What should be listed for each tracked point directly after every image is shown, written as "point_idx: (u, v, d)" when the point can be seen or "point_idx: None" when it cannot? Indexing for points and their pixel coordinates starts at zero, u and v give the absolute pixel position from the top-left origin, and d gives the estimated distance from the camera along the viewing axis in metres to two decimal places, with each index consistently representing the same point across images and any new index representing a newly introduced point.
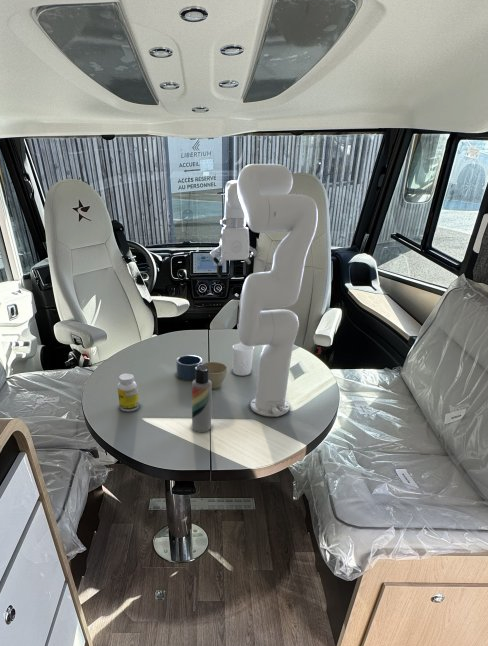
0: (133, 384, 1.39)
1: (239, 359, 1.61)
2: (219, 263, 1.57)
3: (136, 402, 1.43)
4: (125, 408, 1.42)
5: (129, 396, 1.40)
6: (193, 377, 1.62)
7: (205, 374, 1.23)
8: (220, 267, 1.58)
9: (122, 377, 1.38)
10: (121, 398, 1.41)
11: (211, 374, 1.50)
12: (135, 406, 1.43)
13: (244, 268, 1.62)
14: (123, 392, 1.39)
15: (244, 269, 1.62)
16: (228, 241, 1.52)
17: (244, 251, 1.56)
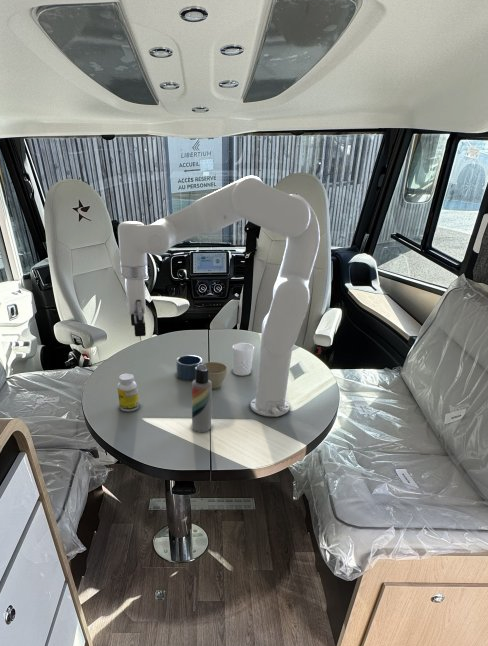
0: (133, 384, 1.39)
1: (239, 359, 1.61)
2: None
3: (136, 402, 1.43)
4: (125, 408, 1.42)
5: (129, 396, 1.40)
6: (193, 377, 1.62)
7: (205, 374, 1.23)
8: None
9: (122, 377, 1.38)
10: (121, 398, 1.41)
11: (211, 374, 1.50)
12: (135, 406, 1.43)
13: None
14: (123, 392, 1.39)
15: None
16: (125, 287, 1.31)
17: (128, 305, 1.28)
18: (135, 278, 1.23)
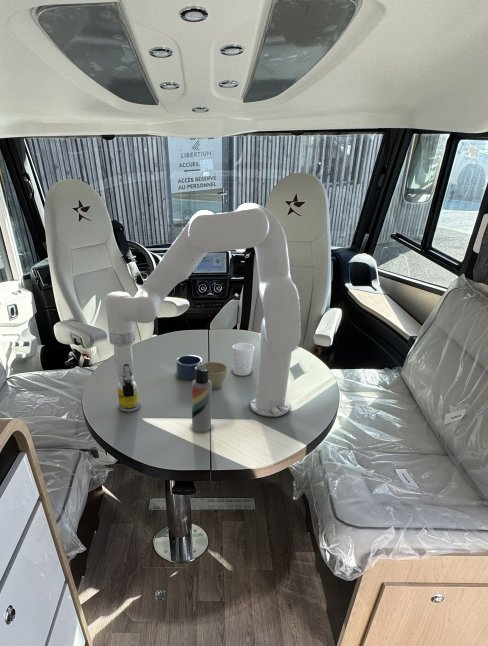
0: (133, 384, 1.39)
1: (239, 359, 1.61)
2: None
3: (136, 402, 1.43)
4: (125, 408, 1.42)
5: None
6: (193, 377, 1.62)
7: (205, 374, 1.23)
8: None
9: None
10: (121, 398, 1.41)
11: (211, 374, 1.50)
12: (135, 406, 1.43)
13: None
14: None
15: None
16: None
17: (116, 368, 1.33)
18: (123, 344, 1.29)
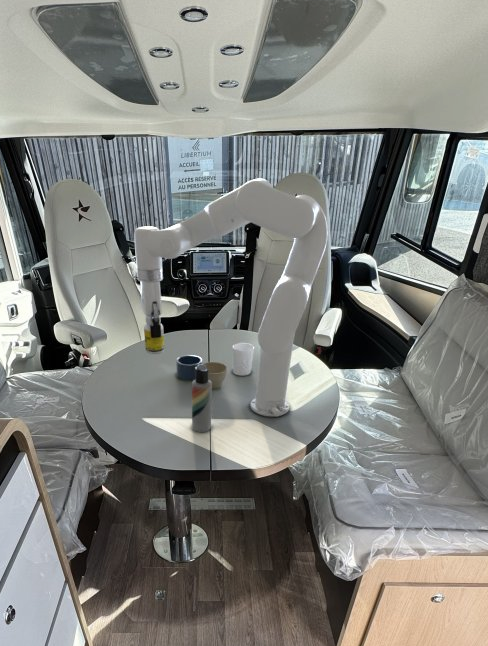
0: None
1: (239, 359, 1.61)
2: None
3: (162, 344, 1.42)
4: (152, 350, 1.42)
5: (156, 338, 1.39)
6: (193, 377, 1.62)
7: (205, 374, 1.23)
8: None
9: (149, 318, 1.38)
10: (148, 340, 1.40)
11: (211, 374, 1.50)
12: (161, 349, 1.43)
13: None
14: (150, 333, 1.38)
15: None
16: None
17: (144, 307, 1.33)
18: (151, 281, 1.29)
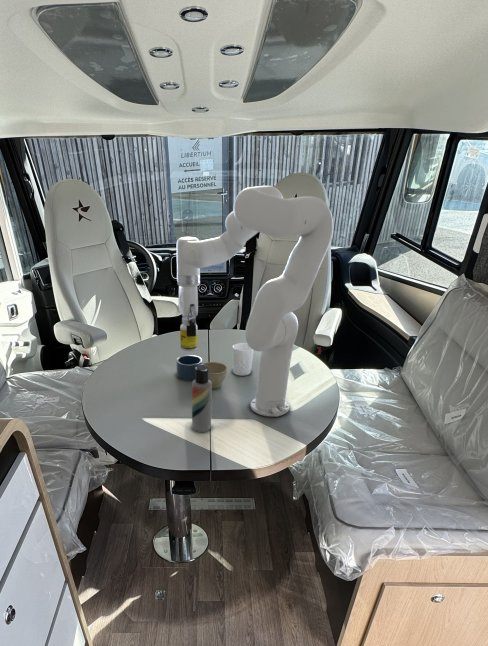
0: None
1: (239, 359, 1.61)
2: (182, 316, 1.57)
3: (196, 343, 1.57)
4: (186, 348, 1.57)
5: None
6: (193, 377, 1.62)
7: (205, 374, 1.23)
8: None
9: (185, 318, 1.53)
10: (183, 338, 1.55)
11: (211, 374, 1.50)
12: (195, 346, 1.57)
13: None
14: (186, 332, 1.53)
15: None
16: (179, 293, 1.51)
17: (182, 308, 1.48)
18: (190, 285, 1.43)
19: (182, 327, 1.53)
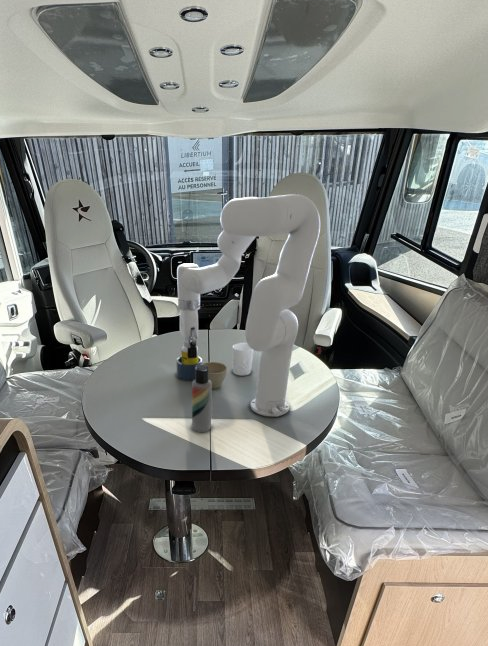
0: None
1: (239, 359, 1.61)
2: (183, 338, 1.61)
3: None
4: None
5: (192, 358, 1.59)
6: (193, 377, 1.62)
7: (205, 374, 1.23)
8: None
9: (186, 341, 1.57)
10: (185, 360, 1.59)
11: (211, 374, 1.50)
12: None
13: None
14: (187, 354, 1.58)
15: None
16: (180, 316, 1.55)
17: (183, 332, 1.52)
18: (191, 310, 1.48)
19: (183, 349, 1.58)
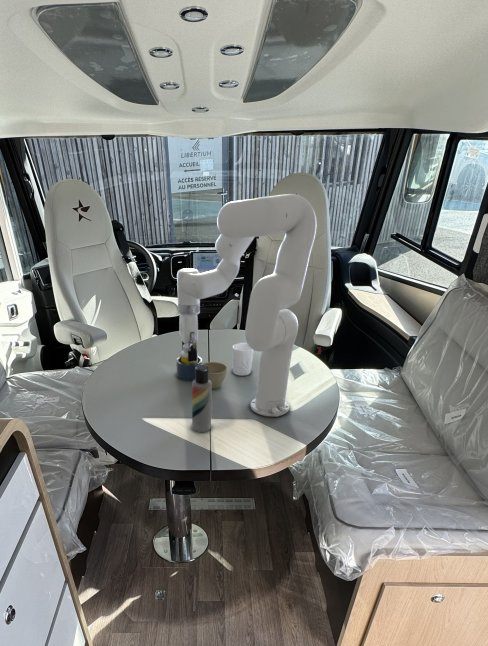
0: None
1: (239, 359, 1.61)
2: None
3: None
4: None
5: (191, 363, 1.60)
6: (193, 377, 1.62)
7: (205, 374, 1.23)
8: None
9: (186, 346, 1.59)
10: None
11: (211, 374, 1.50)
12: None
13: None
14: (186, 359, 1.59)
15: None
16: (179, 321, 1.56)
17: (183, 336, 1.53)
18: (190, 314, 1.49)
19: (183, 354, 1.59)
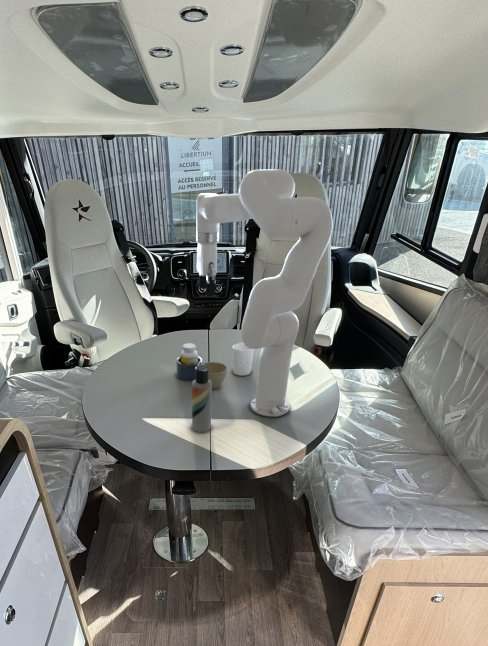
0: (195, 352, 1.60)
1: (239, 359, 1.61)
2: (199, 273, 1.57)
3: None
4: None
5: (191, 363, 1.60)
6: (193, 377, 1.62)
7: (205, 374, 1.23)
8: None
9: (186, 346, 1.59)
10: None
11: (211, 374, 1.50)
12: None
13: None
14: (186, 359, 1.59)
15: None
16: (197, 253, 1.50)
17: (201, 267, 1.47)
18: (210, 243, 1.43)
19: (183, 354, 1.59)
